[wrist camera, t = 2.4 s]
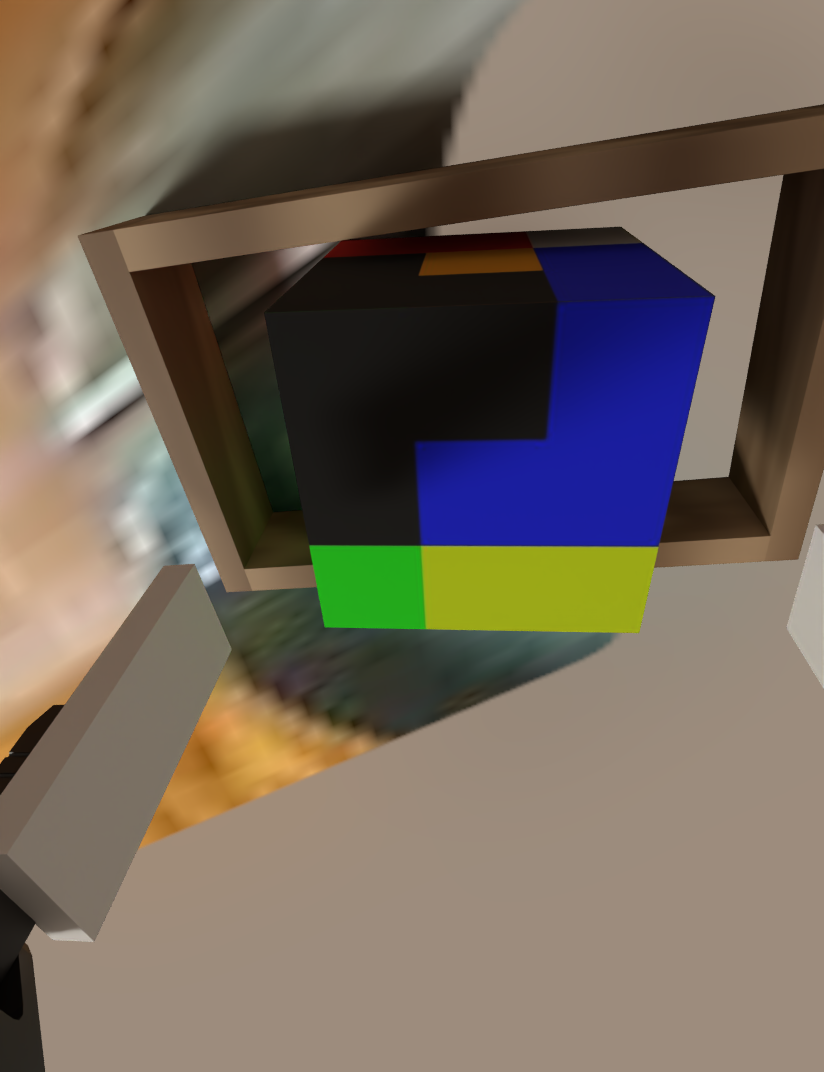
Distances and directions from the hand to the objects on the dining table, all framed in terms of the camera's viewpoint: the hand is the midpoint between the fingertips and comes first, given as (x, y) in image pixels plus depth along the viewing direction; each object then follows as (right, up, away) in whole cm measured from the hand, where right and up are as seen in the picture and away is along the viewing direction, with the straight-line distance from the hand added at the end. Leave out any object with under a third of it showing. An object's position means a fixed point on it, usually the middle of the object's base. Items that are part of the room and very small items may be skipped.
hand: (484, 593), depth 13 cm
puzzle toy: (+1, +8, +11) cm, 14 cm away
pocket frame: (+1, +8, +11) cm, 14 cm away
